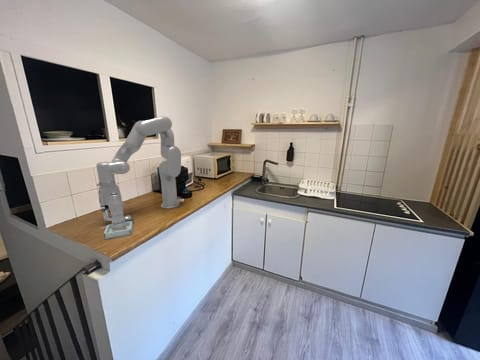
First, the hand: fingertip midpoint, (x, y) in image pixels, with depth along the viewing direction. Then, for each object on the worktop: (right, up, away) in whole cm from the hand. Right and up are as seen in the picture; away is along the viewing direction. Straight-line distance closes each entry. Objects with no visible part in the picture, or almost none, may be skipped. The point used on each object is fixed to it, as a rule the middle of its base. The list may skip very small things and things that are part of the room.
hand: (112, 214), depth 116 cm
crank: (+5, -3, -4) cm, 7 cm away
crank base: (+6, -5, -5) cm, 10 cm away
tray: (+12, -7, -13) cm, 19 cm away
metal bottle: (+12, -7, -13) cm, 18 cm away
